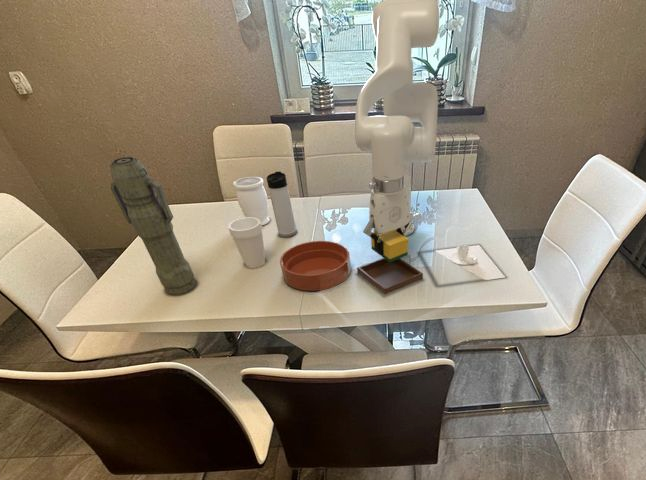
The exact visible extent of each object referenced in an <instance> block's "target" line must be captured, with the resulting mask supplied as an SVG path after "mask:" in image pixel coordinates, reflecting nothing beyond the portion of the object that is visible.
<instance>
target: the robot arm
mask: <svg viewBox="0 0 646 480" xmlns="http://www.w3.org/2000/svg"><path fill="white" fill-rule="evenodd" d="M439 7H440V6H439V3H438V0H382V1H379V2H378V3H376V4H374V7H373V9H372V13H371V14H372V15H371V24H372V30H373V35H374V39H375V43H376V53H375V54H376V55H375V71H374V73H373V74H372V75H371V76H370V77H369V78H368V80H367V81H366V82H365V83H364V86H363V87H362V89H361V90H360V93H359V94H358V97H357V101H356V104H355V118H354V140H355V144H356V145H357V146H356V147H357V148H358V149H359V150H360V151H362V152H368V153H369V152H371V169H372V170H371V171H372V182H370V183H369V185H368V187H369V189H370V190H371V191H370V197H369V208H368V210H369V212H368V213H369V214H368V215H369V217H368V218H369V221H368V223H366V226H365V227H364V229H363V231H362V232H363V234H364V235H366V236H368V237H369V238H370V239H371V238H372V239H374V246H375V251H376V252H375V251H374V252H375V253H376V254H378V255H379V254H380V255H379V256H381V257H382V255H383V242H382V241H381V240H382V237H383V233H387V232H390V231H392V230H395V231H397V232H398V233H400V234H401V235H403V236H405V237H406V236H409V235H411V234H413V233H414V231H415V224H414V222H415V221H417V220H420V219H422V213H420V212H418V213H414V212H411V208H412V207H411V206H412V176H411V172H410V170H409V169H408V167H407V166H406V165H405V164H421V163H422V164H425V163H430V162H432V161H433V159H434V158H435V155H436V150H437V134H438V133H437V132H438V111H439V96H438V94H439V93H438V90H437V88H436V86H435V85H434V84H432V83H430V82H414V62H413V59H412V49H419V48H432V47H433V46H434V45H435V44H436V41H437V38H438V35H439V29H440V28H439V27H440V8H439ZM380 100H382V109H383V110H382V112H383V115H369V113H370V110H371V108H372V107H373V106H374V105H375V104H376V103H377V102H378V101H380ZM414 123H419V124H420V125H421V126H415V125H414ZM372 230H373V231H372ZM372 232H373V233H372ZM378 233H379V234H378ZM377 235H378V236H377Z"/></svg>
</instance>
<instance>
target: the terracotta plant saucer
mask: <svg viewBox="0 0 646 480" xmlns="http://www.w3.org/2000/svg"><path fill="white" fill-rule="evenodd" d="M279 265H280V268H281V274H282V277H283V281H284V282H285V283H286V284H287V285H288V286H289V287H291V288H293V289H297V290H301V291H312V292H313V291H323V290H327V289H331V288H334V287H336V286H339V285H340V284H341V283H343V282H345V281H346V279H348V278H349V276H350V275H351V273H352V266H351V256H350V251H349V249H348V248H347V247H345V246H344V245H343V244H341V243H339V242H335V241H330V240H312V241H308V242H307V241H306V242H303V243H299V244H297V245H294V246H293V247H292V246H291V248H289V249H288V250H285V251H284V253H282V255H281V256H280V258H279Z"/></svg>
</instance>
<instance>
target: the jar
mask: <svg viewBox="0 0 646 480" xmlns="http://www.w3.org/2000/svg"><path fill="white" fill-rule="evenodd" d="M263 184H264V178H263V177H260V176H247V177H241V178H238V179H236V180H235V181H233V187H234V188H235V191H236V192H235V194H236V199H237V202H238V205H239V208H240V209H241V212H242V215H243V216H244V217H255V218H258V219H260V222H261V226H262V227H263V226H264V225H267V224H268V223H270V221H271V220H270V217H269V199H268V195H267V191H266V189H265V186H264V185H263Z"/></svg>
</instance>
